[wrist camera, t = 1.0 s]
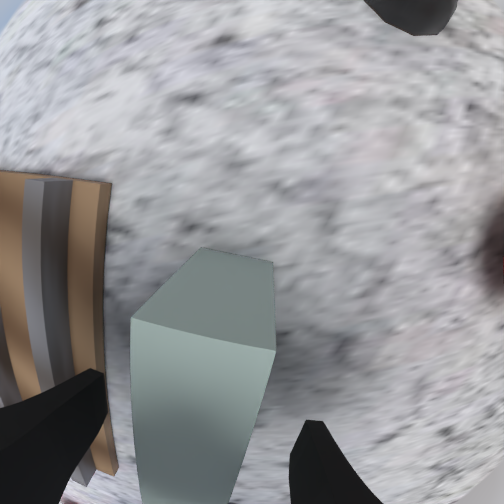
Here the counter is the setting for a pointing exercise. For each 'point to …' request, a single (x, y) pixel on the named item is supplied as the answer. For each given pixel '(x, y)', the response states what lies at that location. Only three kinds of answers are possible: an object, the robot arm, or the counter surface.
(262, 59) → the counter surface
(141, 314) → the door panel
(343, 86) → the counter surface
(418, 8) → the wooden tabletop sculpture
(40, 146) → the counter surface
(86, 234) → the track board
